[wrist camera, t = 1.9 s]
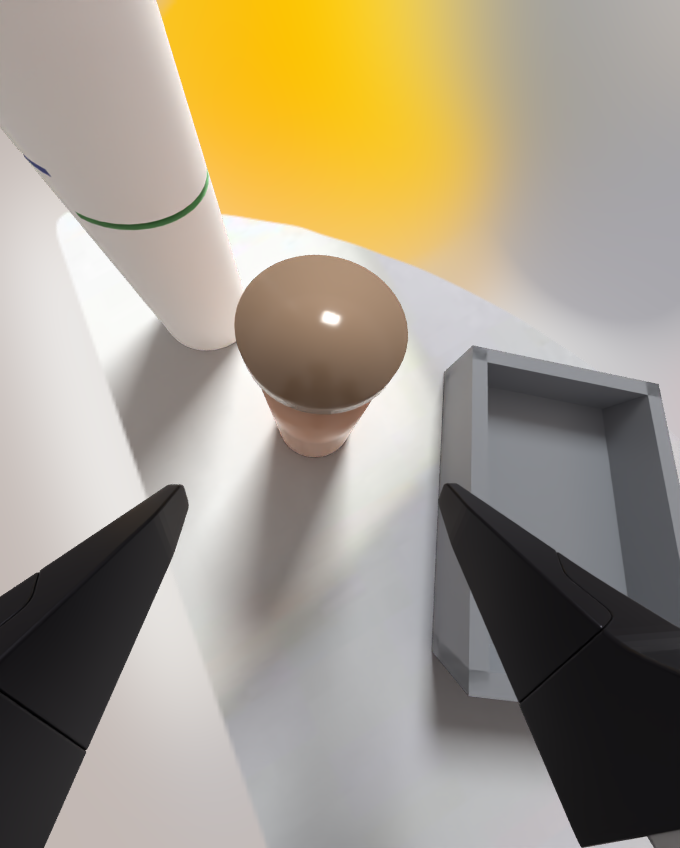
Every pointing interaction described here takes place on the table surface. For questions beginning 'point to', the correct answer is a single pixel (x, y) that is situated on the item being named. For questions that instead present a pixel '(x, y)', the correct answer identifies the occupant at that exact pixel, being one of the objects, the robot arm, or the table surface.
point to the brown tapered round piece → (319, 346)
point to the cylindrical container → (122, 152)
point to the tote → (555, 488)
